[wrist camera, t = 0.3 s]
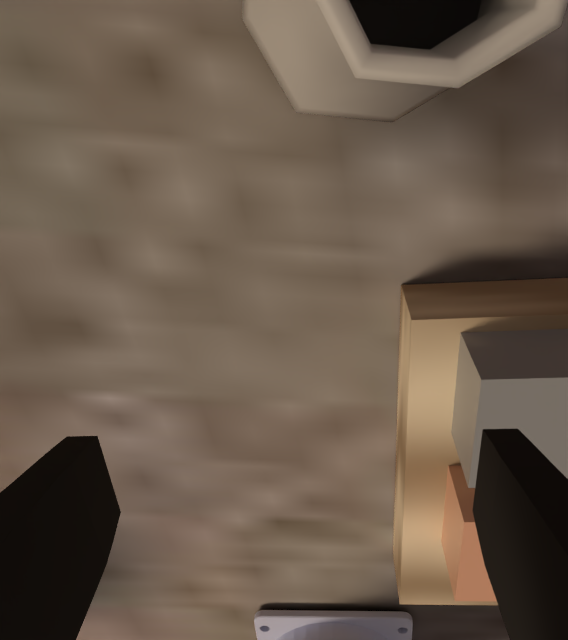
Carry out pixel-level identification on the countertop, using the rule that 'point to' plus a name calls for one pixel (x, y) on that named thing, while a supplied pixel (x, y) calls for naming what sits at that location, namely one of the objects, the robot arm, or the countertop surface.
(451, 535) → the terracotta tile
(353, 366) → the countertop surface
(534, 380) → the slate tile
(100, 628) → the countertop surface
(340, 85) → the flask
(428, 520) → the birch plate
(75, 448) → the robot arm
